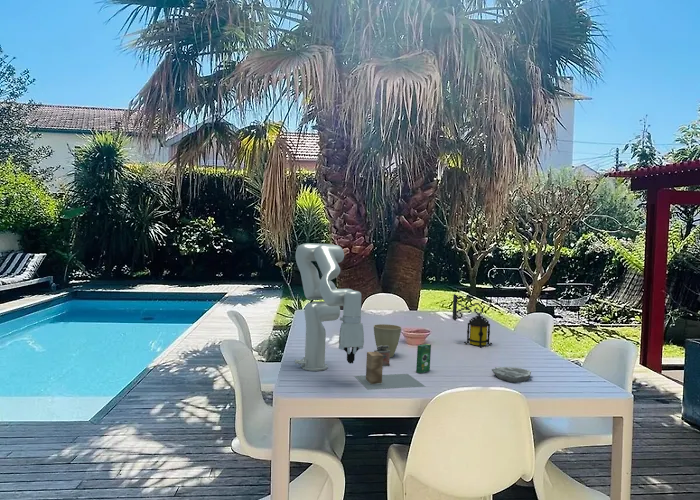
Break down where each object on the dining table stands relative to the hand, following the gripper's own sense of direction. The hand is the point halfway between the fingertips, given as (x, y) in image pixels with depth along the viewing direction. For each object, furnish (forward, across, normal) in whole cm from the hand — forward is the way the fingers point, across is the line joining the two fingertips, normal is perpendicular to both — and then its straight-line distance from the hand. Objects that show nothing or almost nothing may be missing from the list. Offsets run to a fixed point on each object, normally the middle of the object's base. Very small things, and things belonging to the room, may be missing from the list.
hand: (350, 362), depth 220 cm
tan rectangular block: (+9, +11, 0) cm, 14 cm away
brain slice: (+10, +79, 0) cm, 80 cm away
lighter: (+10, +25, +29) cm, 40 cm away
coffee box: (+10, +41, +15) cm, 45 cm away
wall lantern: (+9, +97, +68) cm, 119 cm away
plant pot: (+9, +34, +47) cm, 59 cm away
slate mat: (+10, +18, 0) cm, 20 cm away
